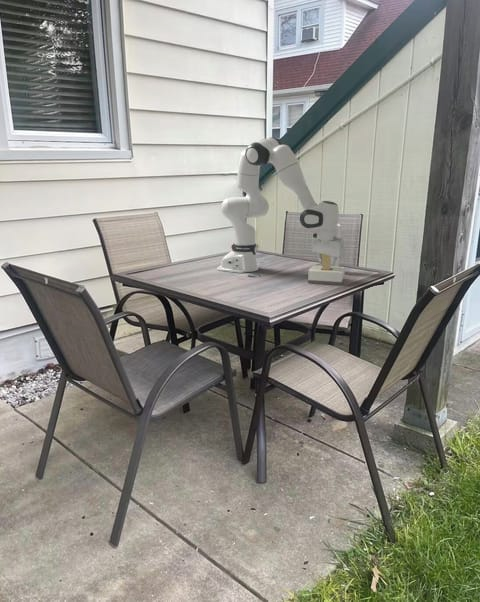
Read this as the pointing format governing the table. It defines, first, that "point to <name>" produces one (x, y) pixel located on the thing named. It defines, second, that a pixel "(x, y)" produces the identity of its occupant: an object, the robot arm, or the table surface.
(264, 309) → the table surface
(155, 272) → the table surface
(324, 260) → the brass peg
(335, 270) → the socket block
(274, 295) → the table surface
